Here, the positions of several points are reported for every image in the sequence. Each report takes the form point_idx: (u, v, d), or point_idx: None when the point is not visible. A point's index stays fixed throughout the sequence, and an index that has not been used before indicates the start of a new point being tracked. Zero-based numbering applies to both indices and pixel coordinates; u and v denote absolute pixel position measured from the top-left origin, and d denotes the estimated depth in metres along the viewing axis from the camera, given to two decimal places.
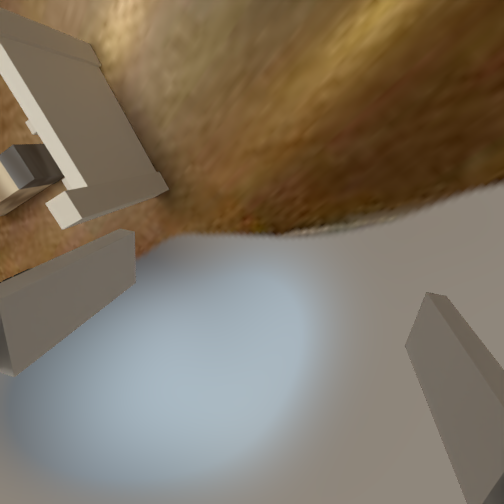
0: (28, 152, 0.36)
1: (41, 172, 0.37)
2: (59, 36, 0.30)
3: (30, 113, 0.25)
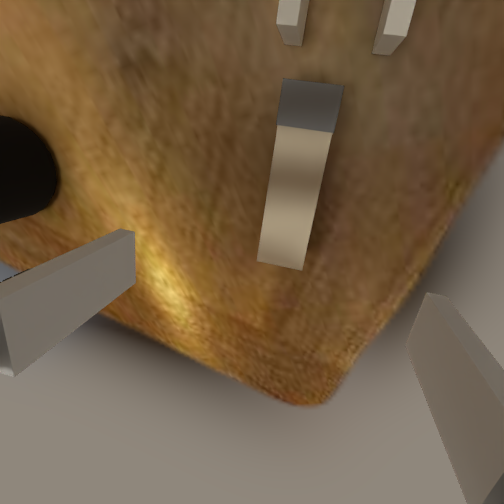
0: None
1: None
2: None
3: None
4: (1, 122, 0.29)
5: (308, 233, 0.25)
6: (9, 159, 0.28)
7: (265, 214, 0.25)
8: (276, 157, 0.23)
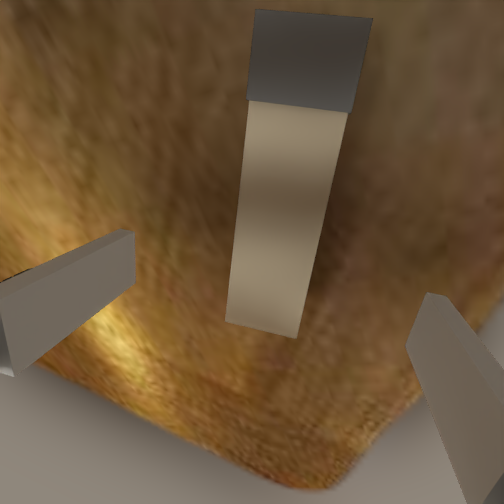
0: None
1: None
2: None
3: None
4: None
5: (306, 283, 0.15)
6: None
7: (235, 252, 0.15)
8: (249, 158, 0.13)
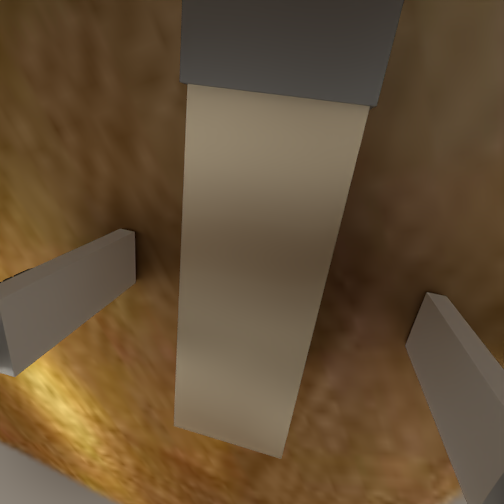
0: None
1: None
2: None
3: None
4: None
5: (295, 385, 0.09)
6: None
7: (181, 332, 0.09)
8: (194, 186, 0.08)
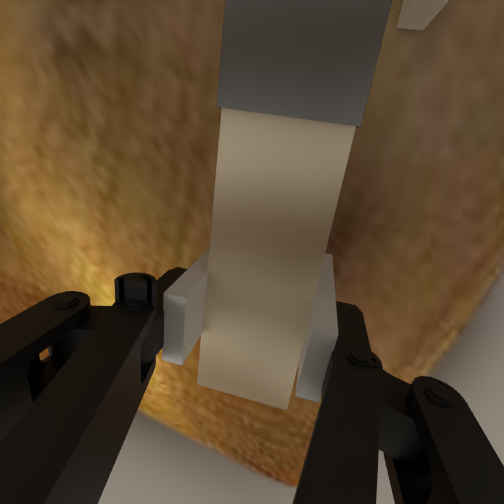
0: None
1: None
2: None
3: None
4: None
5: (299, 344, 0.11)
6: None
7: (207, 302, 0.12)
8: (223, 184, 0.10)
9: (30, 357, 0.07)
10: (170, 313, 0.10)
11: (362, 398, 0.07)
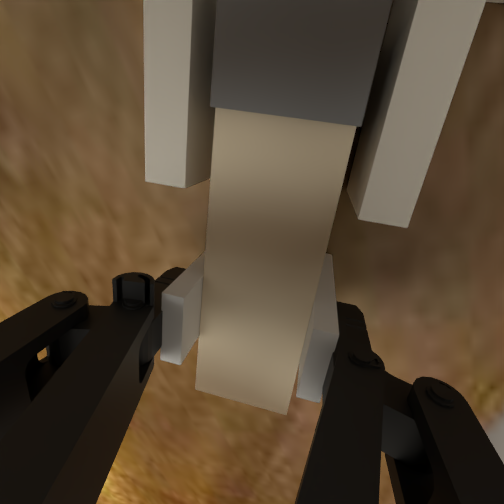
0: None
1: None
2: None
3: None
4: None
5: (298, 350, 0.11)
6: None
7: (204, 307, 0.11)
8: (218, 187, 0.10)
9: (29, 357, 0.07)
10: (168, 313, 0.10)
11: (364, 399, 0.07)
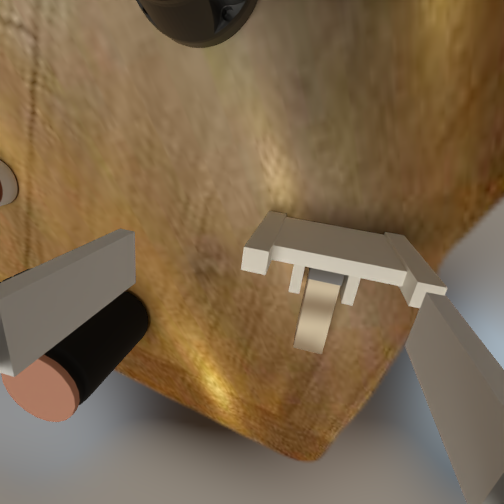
0: None
1: None
2: (268, 220, 0.38)
3: (327, 266, 0.30)
4: (123, 301, 0.49)
5: (326, 334, 0.41)
6: (131, 328, 0.48)
7: (299, 322, 0.41)
8: (307, 294, 0.40)
9: None
10: None
11: None
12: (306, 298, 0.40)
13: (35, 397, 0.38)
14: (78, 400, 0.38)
